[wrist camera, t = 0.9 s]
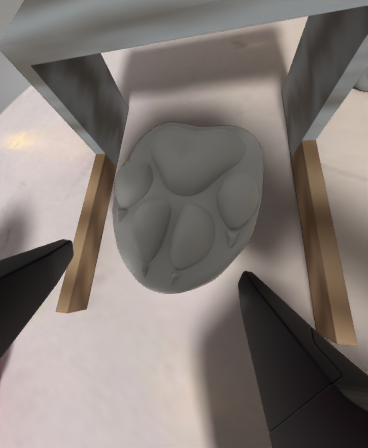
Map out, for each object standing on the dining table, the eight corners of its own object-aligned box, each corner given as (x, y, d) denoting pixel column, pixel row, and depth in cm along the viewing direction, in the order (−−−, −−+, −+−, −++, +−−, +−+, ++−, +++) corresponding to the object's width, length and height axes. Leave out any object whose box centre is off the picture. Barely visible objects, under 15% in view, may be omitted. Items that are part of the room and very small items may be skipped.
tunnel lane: (333, 335, 14) (1005, 636, 2) (76, 308, 18) (-191, 358, 6) (291, 91, 22) (381, -130, 10) (121, 110, 26) (43, -33, 14)
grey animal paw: (252, 180, 19) (280, 107, 11) (232, 304, 16) (250, 326, 8) (165, 169, 22) (135, 102, 14) (130, 275, 18) (64, 269, 10)
